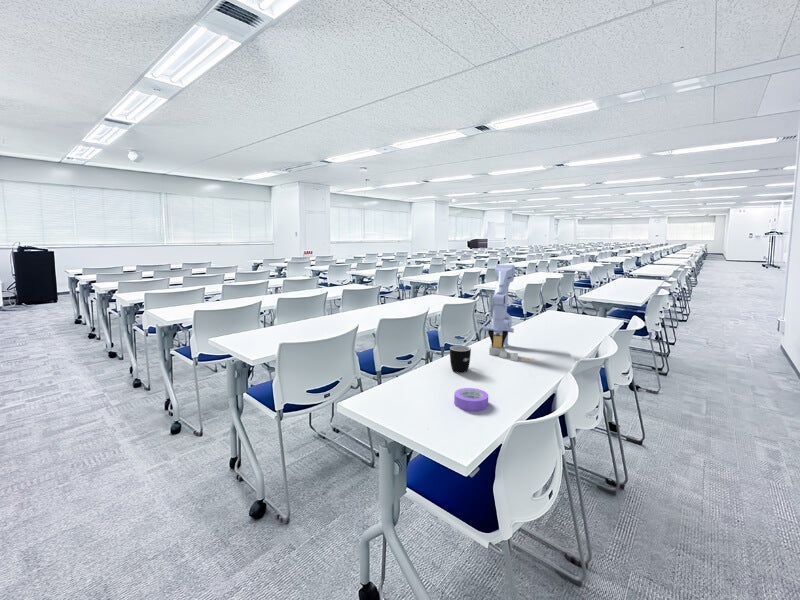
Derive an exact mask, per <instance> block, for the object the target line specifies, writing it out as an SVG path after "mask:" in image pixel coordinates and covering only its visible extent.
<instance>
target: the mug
mask: <svg viewBox="0 0 800 600" xmlns="http://www.w3.org/2000/svg"><path fill="white" fill-rule="evenodd" d="M471 351H472V349H471V347H470V346H468V345H467V346H466V345H461V344H460V345H458V344H457V345H452V346H450V347H449V358H450V359H449V360H450V367H451V370H452V371H453V372H454V373H457V372H458V374H462V373H463V374H464V373H466V372H468V371H469V368H470V362H471V354H472V352H471Z"/></svg>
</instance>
